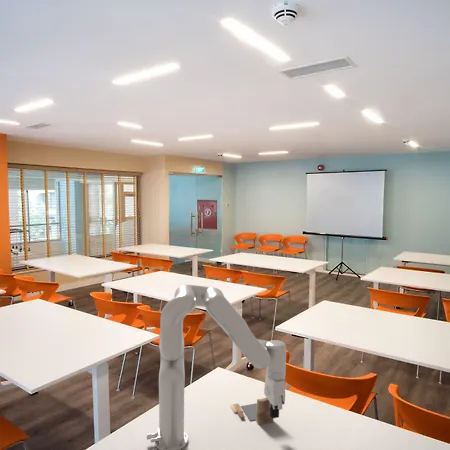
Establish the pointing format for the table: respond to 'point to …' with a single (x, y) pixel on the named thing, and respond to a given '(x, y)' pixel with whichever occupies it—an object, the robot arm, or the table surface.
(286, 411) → the table surface
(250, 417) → the mat
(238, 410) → the turner
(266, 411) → the brown wooden block
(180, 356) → the robot arm
